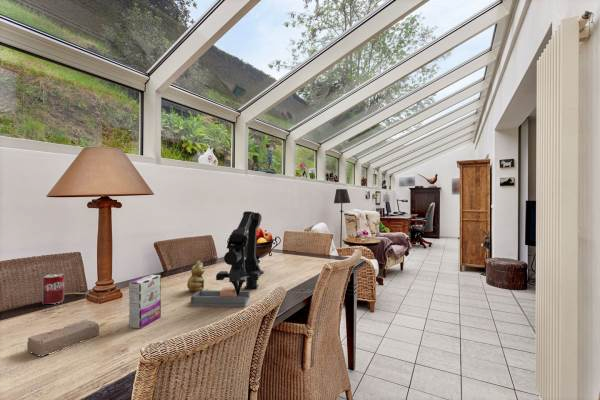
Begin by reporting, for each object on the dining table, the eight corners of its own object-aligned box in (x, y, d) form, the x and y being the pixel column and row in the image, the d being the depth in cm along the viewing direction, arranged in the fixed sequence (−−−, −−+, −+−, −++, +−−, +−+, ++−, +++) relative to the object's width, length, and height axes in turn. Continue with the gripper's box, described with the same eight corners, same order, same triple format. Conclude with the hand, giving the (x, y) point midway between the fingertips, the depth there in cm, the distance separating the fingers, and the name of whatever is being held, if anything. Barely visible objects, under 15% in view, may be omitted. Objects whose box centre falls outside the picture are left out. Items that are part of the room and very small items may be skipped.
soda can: (67, 301, 129) (67, 274, 129) (47, 306, 122) (48, 278, 122) (58, 298, 132) (58, 272, 132) (38, 303, 125) (39, 276, 125)
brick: (86, 330, 101) (86, 317, 101) (101, 335, 97) (101, 321, 97) (25, 353, 86) (25, 337, 86) (40, 359, 82) (40, 343, 82)
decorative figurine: (204, 292, 142) (205, 262, 142) (186, 294, 140) (187, 263, 140) (204, 287, 151) (204, 258, 152) (187, 288, 149) (187, 259, 149)
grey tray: (199, 296, 137) (199, 289, 137) (249, 297, 136) (249, 290, 136) (189, 305, 125) (189, 297, 125) (244, 306, 124) (245, 298, 124)
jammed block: (223, 296, 133) (223, 287, 134) (236, 296, 133) (236, 287, 133) (219, 300, 127) (219, 291, 127) (233, 300, 127) (233, 291, 127)
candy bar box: (150, 315, 114) (150, 274, 114) (161, 317, 113) (161, 275, 113) (127, 327, 103) (128, 281, 103) (139, 329, 102) (140, 282, 102)
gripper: (212, 263, 122) (212, 300, 122) (256, 264, 123) (256, 300, 122) (219, 258, 134) (219, 292, 133) (259, 259, 134) (259, 292, 134)
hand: (238, 294), depth 130 cm, fingers closed
